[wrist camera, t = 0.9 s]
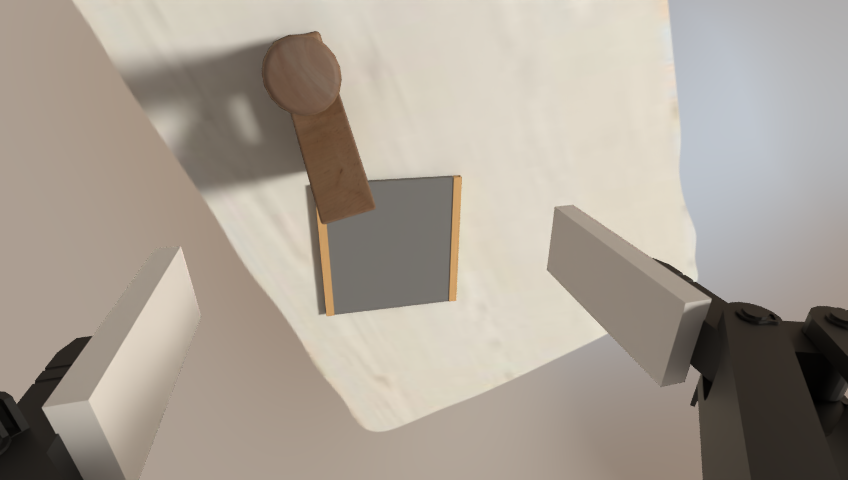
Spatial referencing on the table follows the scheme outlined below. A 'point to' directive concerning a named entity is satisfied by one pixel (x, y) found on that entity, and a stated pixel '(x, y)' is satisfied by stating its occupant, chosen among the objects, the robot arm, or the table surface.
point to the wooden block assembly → (319, 123)
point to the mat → (394, 247)
